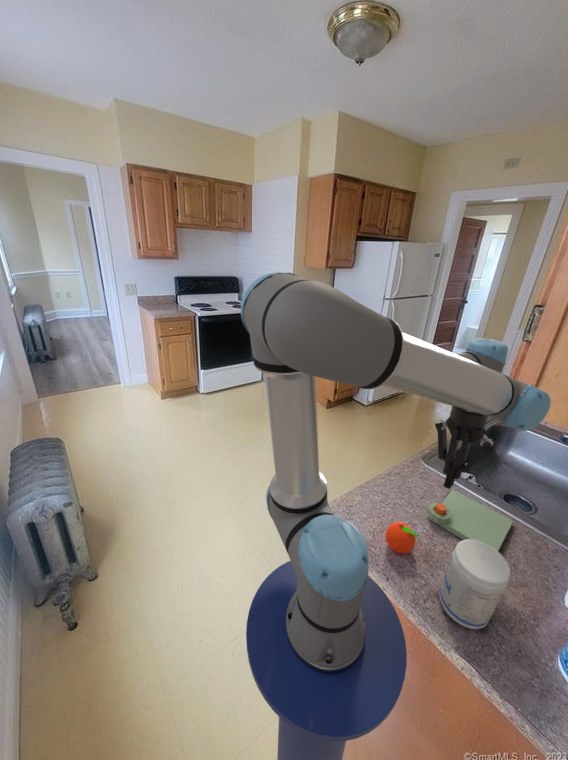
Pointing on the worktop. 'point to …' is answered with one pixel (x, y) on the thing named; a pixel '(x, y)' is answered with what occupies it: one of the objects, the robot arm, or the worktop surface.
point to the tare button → (440, 509)
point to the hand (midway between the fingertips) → (448, 485)
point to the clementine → (400, 537)
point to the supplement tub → (473, 583)
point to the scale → (471, 520)
